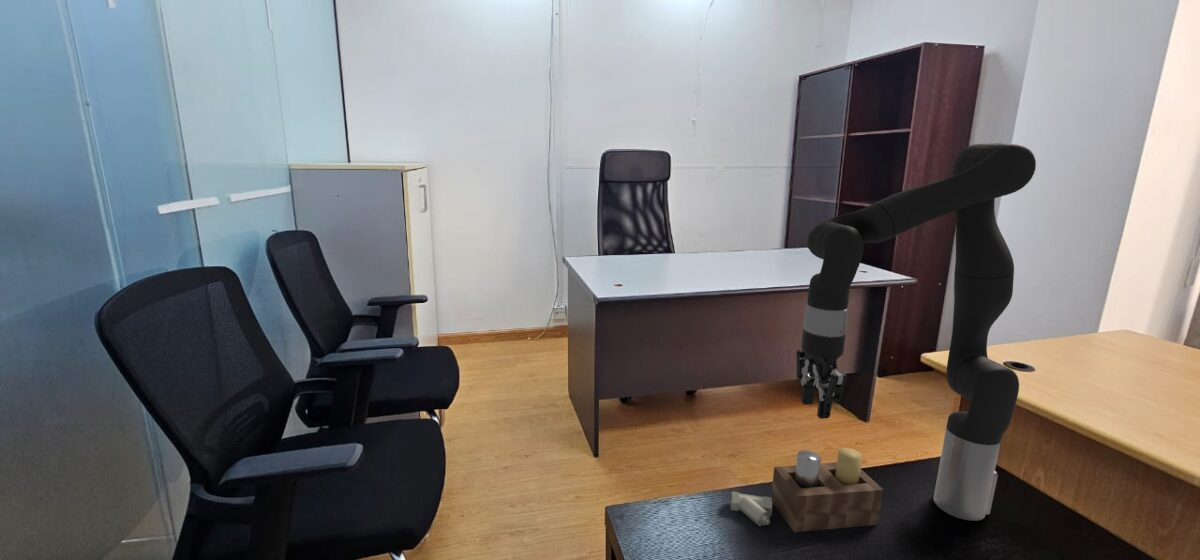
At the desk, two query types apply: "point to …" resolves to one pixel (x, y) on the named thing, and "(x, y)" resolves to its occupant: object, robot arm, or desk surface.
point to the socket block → (825, 500)
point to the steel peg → (807, 469)
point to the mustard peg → (848, 466)
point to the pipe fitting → (753, 507)
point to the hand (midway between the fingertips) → (814, 410)
